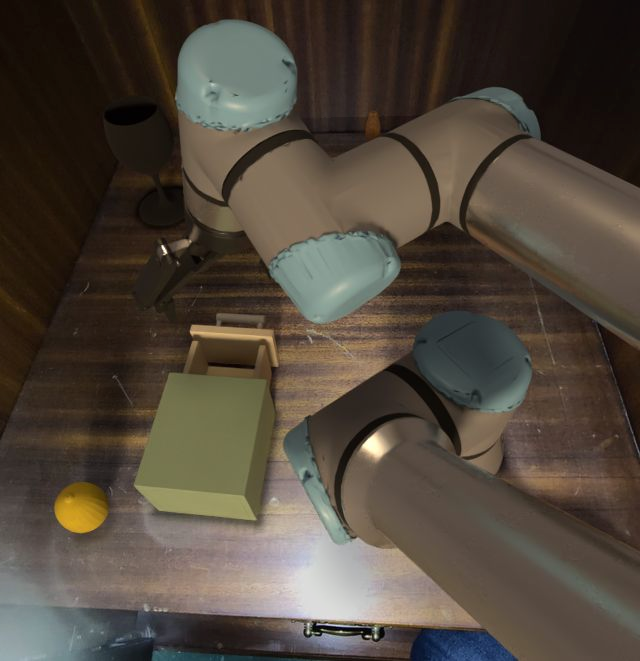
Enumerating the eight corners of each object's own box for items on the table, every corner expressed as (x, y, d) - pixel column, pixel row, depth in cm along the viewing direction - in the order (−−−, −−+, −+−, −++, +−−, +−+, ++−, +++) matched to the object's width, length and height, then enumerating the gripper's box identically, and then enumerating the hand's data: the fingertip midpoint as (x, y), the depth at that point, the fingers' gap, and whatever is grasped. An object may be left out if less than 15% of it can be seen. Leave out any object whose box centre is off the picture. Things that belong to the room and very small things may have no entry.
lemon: (121, 493, 66) (97, 471, 60) (113, 538, 63) (86, 520, 57) (79, 495, 67) (50, 474, 60) (68, 540, 63) (36, 523, 57)
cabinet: (188, 406, 73) (169, 372, 65) (275, 413, 72) (266, 379, 64) (158, 510, 65) (132, 485, 57) (256, 520, 64) (244, 496, 56)
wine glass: (127, 216, 97) (83, 119, 81) (161, 183, 102) (126, 86, 86) (171, 233, 94) (135, 135, 78) (204, 198, 99) (176, 100, 83)
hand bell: (341, 184, 100) (340, 107, 87) (379, 171, 101) (383, 94, 88) (361, 210, 95) (363, 133, 82) (400, 196, 97) (408, 118, 84)
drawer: (210, 331, 80) (199, 300, 73) (283, 336, 78) (278, 305, 72) (180, 439, 69) (164, 413, 63) (264, 446, 68) (255, 421, 62)
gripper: (324, 122, 50) (290, 230, 70) (66, 212, 42) (110, 307, 61) (364, 183, 49) (318, 276, 68) (106, 289, 40) (138, 361, 60)
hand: (219, 291), depth 65 cm, fingers open, 13 cm apart
